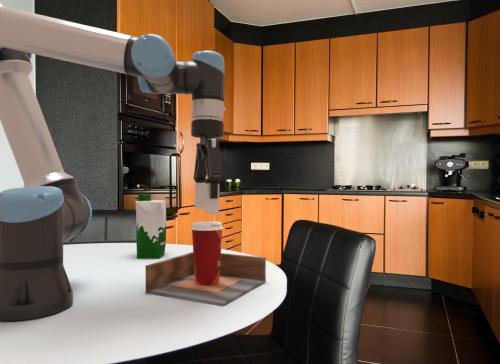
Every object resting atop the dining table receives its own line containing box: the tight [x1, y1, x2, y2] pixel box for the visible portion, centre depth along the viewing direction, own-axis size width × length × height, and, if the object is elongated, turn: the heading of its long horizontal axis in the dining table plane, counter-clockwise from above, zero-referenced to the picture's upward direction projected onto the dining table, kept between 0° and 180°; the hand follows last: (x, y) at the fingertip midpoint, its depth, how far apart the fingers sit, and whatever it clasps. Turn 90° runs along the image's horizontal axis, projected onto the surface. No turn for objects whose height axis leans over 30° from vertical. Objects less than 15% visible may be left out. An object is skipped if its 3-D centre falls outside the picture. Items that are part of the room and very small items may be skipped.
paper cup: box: [190, 220, 224, 286], centre depth 93 cm, size 8×8×14 cm
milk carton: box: [135, 193, 167, 259], centre depth 127 cm, size 9×9×20 cm
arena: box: [145, 251, 267, 307], centre depth 92 cm, size 20×20×6 cm
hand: (206, 211), depth 92 cm, fingers open, 13 cm apart
